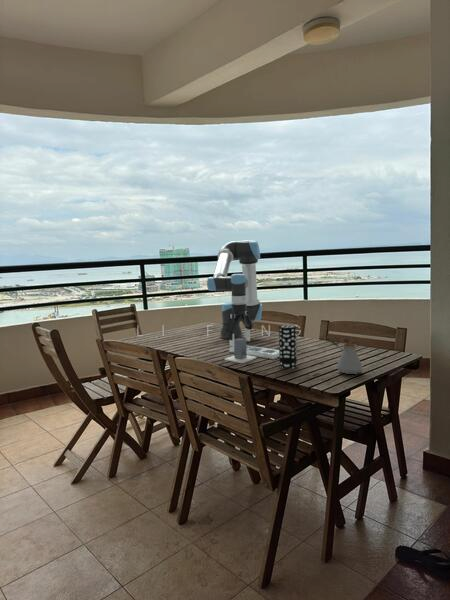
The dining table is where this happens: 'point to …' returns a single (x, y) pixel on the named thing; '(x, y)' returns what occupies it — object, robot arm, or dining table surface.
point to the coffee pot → (348, 359)
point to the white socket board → (259, 352)
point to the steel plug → (240, 348)
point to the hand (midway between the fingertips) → (240, 343)
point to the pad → (240, 359)
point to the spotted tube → (287, 346)
